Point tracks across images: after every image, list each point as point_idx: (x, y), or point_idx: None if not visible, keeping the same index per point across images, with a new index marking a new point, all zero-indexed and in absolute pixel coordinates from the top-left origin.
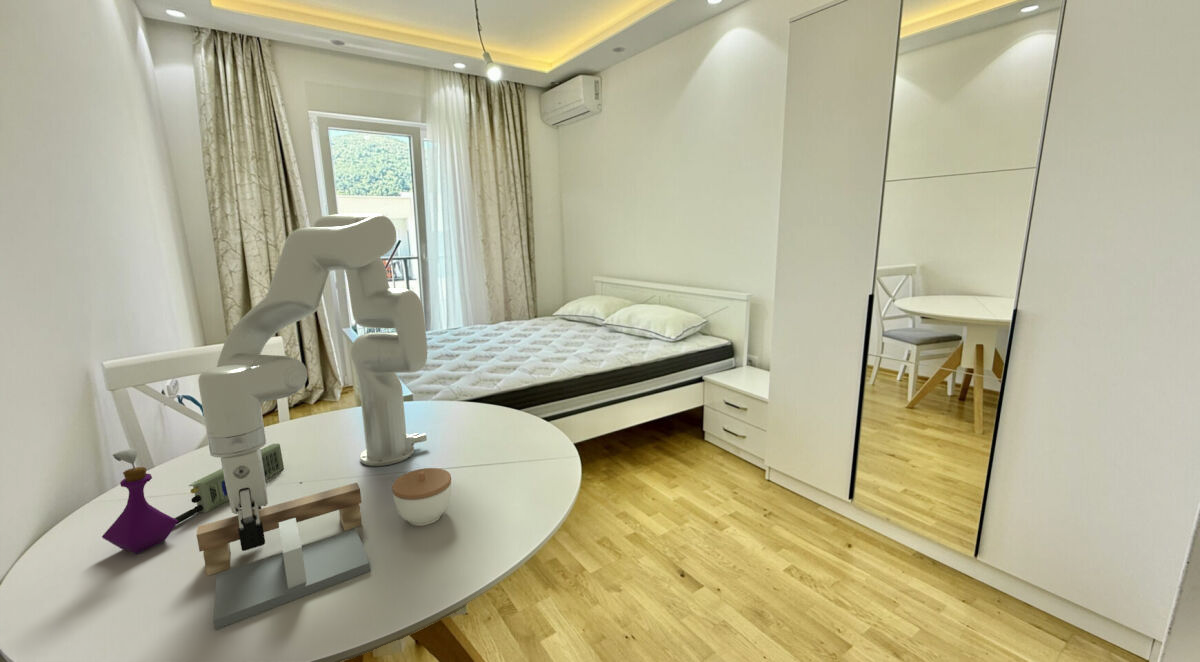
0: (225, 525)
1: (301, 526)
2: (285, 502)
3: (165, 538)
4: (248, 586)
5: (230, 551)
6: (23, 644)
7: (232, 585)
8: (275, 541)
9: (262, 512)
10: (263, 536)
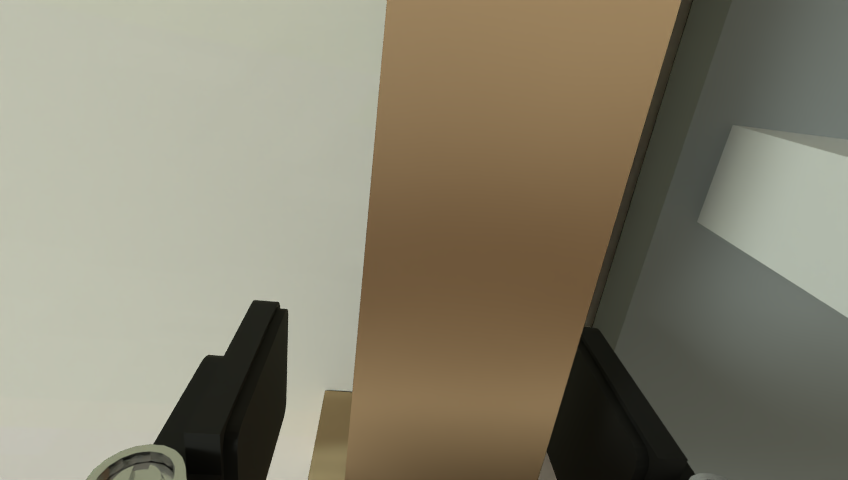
0: None
1: (269, 12)
2: (377, 211)
3: None
4: (820, 390)
5: (329, 399)
6: None
7: (738, 436)
8: (366, 200)
9: (455, 440)
10: (621, 366)
